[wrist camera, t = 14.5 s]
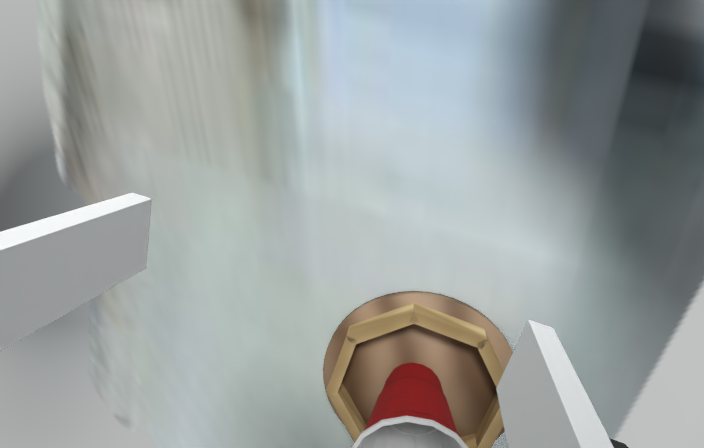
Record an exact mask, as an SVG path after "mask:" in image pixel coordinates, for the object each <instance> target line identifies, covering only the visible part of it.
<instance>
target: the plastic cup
mask: <svg viewBox="0 0 704 448" xmlns="http://www.w3.org/2000/svg"><path fill="white" fill-rule="evenodd" d="M352 448H468V447H467V445H466V444H465V443H464V442H463V440H462V439H461V438H460V435H459V433H458V432H457V430H456V427H455V424H454V421H453V417H452V414H451V411H450V408H449V405H448V402H447V399H446V396H445V395H444V393H443V389H442V386H441V382H440V380H439V379H438V377H437V375H436V374H435V373H434V372H433V371H432V370H431V369H430V368H428V367H426V366H424V365H423V364H418V363H406V364H401V365H400V366H398V367H396V368H395V369H394V370H393V371H392V372H391V374H390V375H389V377H388V378H387V380H386V382H385V384H384V387H383V389H382V391H381V393H380V394H379V397H378V399H377V401H376V404H375V406H374V409H373V411H372V413H371V416H370V418H369V421H368V423H367V425H366V427H365V429H364V430H363V432H362V433H361V434H360V436H359V437H358V439H357V440H356V442H355V443H354V445H353V446H352Z"/></svg>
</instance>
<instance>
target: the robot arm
mask: <svg viewBox="0 0 704 448" xmlns="http://www.w3.org/2000/svg"><path fill="white" fill-rule="evenodd" d="M151 202H152V199H150V198H147V197H144V196H141V195H138V194H135V193H129V194H126V195H123V196H119V197H116V198H113V199H109V200H106V201H103V202H99V203H96V204H92V205H89V206H86V207H82V208H79V209H76V210H72V211H69V212H66V213H63V214H59V215H55V216H52V217H49V218H45V219H42V220H39V221H35V222H32V223H29V224H25V225H22V226H19V227H15V228H12V229H8V230H5V231H2V232H0V351H2V350H3V349H5V348H7V347H9V346H10V345H12V344H14V343H16V342H17V341H19V340H21V339H22V338H24V337H26V336H28V335H30V334H31V333H33V332H35V331H37V330H38V329H40V328H42V327H44V326H45V325H47V324H49V323H51V322H52V321H54V320H56V319H58V318H59V317H61V316H63V315H65V314H66V313H68V312H70V311H72V310H73V309H75V308H77V307H79V306H80V305H82V304H84V303H86V302H88V301H89V300H91V299H93V298H95V297H96V296H98V295H100V294H102V293H103V292H105V291H107V290H109V289H110V288H112V287H114V286H116V285H117V284H119V283H121V282H123V281H124V280H126V279H128V278H130V277H131V276H133V275H135V274H137V273H138V272H140V271H142V270H144V269H146V264H147V251H148V239H149V226H150V214H151ZM496 390H497V395H498V400H499V405H500V410H501V415H502V420H503V425H504V430H505V435H506V440H507V445H508V448H628V447H627V446H626V445H625V444H624V443H621V442H618V441H615V440H612V439H609V437H608V435H607V433H606V431H605V429H604V427H603V425H602V423H601V421H600V419H599V417H598V415H597V413H596V411H595V409H594V407H593V405H592V403H591V401H590V399H589V397H588V396H587V394H586V392H585V390H584V388H583V386H582V384H581V382H580V380H579V378H578V376H577V374H576V372H575V370H574V368H573V366H572V364H571V362H570V360H569V358H568V356H567V354H566V352H565V350H564V348H563V346H562V344H561V342H560V340H559V338H558V336H557V334H556V332H555V330H554V328H553V327H549V326H546V325H543V324H540V323H537V322H534V321H531V320H528V321H527V323H526V326H525V328H524V330H523V332H522V334H521V336H520V339H519V341H518V343H517V345H516V347H515V349H514V351H513V354H512V356H511V358H510V360H509V362H508V364H507V366H506V369H505V371H504V373H503V375H502V377H501V379H500V381H499V384H498V386H497V388H496Z"/></svg>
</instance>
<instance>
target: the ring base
mask: <svg viewBox="0 0 704 448" xmlns="http://www.w3.org/2000/svg"><path fill="white" fill-rule="evenodd" d="M512 354H513V352H512V349H511V347H510V346H509V344H508V342H507V340H506V338H505V337H504V336H503V334H502V333H501V332H500V330H499V329H498V328H497V327H496V326H495V325H494V324H493V323H492V322H491V321H490V320H489V319H488V318H487V317H485V316H484V315H483V314H482V313H480V312H479V311H478V310H476V309H474V308H473V307H471V306H469V305H467V304H466V303H463V302H461V301H459V300H456V299H454V298H451V297H448V296H444V295H441V294H436V293H430V292H419V291H408V292H398V293H392V294H387V295H384V296H381V297H378V298H375V299H373V300H371V301H368V302H366V303H364V304H363V305H361V306H360V307H358V308H357V309H355V310H354V311H353V312H352V313H350V314H349V315H348V316H347V317H346V318H345V319H344V320H343V321H342V323H341V324H340V325H339V326H338V328H337V329H336V331H335V333H334V334H333V336H332V339H331V341H330V343H329V345H328V348H327V351H326V355H325V359H324V367H323V375H324V384H325V389H326V393H327V396H328V399H329V401H330V403H331V405H332V407H333V409H334V411H335V413H336V414H337V416H338V417H339V419H340V420H341V421H342V422H343V424H344V425H345V426H346V428H347V430H348V431H349V433H350V435H351V437H352V438H353V440H354V442H356V440H357V439H358V437H359V436H360V434H361V433H362V432H363V430H364V429H365V427H366V425H367V423H368V421H369V418H370V416H371V413H372V411H373V409H374V406H375V404H376V401H377V399H378V397H379V394H380V393H381V391H382V389H383V387H384V384H385V382H386V380H387V378H388V377H389V375H390V374H391V372H392V371H393V370H394V369H395V368H396V367H398V366H400V365H401V364H406V363H418V364H423V365H424V366H426V367H428V368H430V369H431V370H432V371H433V372H434V373H435V374H436V375H437V377H438V379H439V380H440V382H441V386H442V389H443V393H444V395H445V396H446V399H447V402H448V405H449V408H450V411H451V414H452V417H453V421H454V424H455V427H456V430H457V432H458V433H459V435H460V438H461V439H462V440H463V442H464V443H465V444H466V445H467V447H468V448H491V447H492V445H493V443H494V441H495V440H496V439H497V438H498V437H499V436H500V435H501V434H502V433H503V432H504V431H505V430H504V425H503V420H502V415H501V410H500V405H499V400H498V395H497V390H496V388H497V386H498V384H499V381H500V379H501V377H502V375H503V373H504V371H505V369H506V366H507V364H508V362H509V360H510V358H511V356H512Z"/></svg>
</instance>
